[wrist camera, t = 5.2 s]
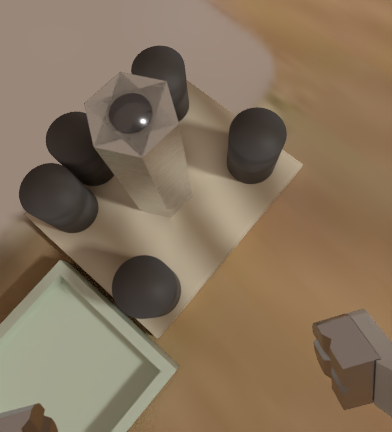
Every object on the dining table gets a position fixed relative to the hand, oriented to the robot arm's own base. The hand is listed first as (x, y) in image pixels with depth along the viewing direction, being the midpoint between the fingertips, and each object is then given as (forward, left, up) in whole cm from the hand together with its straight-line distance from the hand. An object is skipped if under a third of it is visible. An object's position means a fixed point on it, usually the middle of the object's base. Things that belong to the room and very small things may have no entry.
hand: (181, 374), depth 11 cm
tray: (-9, +6, -18) cm, 21 cm away
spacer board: (+7, +10, -18) cm, 22 cm away
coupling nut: (+7, +10, -17) cm, 21 cm away
